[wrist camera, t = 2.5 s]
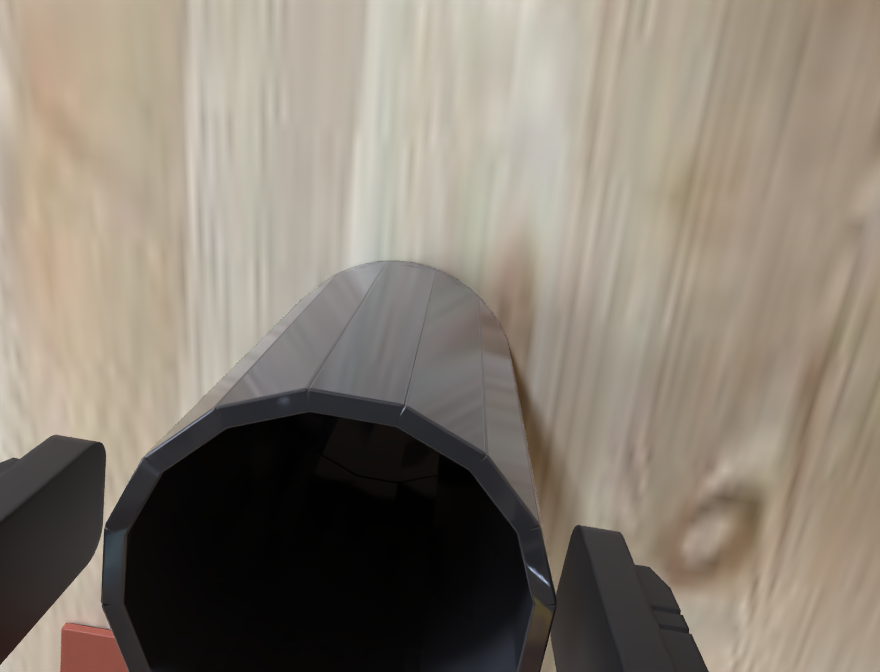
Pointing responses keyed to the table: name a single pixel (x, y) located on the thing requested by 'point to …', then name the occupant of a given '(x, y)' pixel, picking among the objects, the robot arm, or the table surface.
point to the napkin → (89, 650)
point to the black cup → (342, 499)
